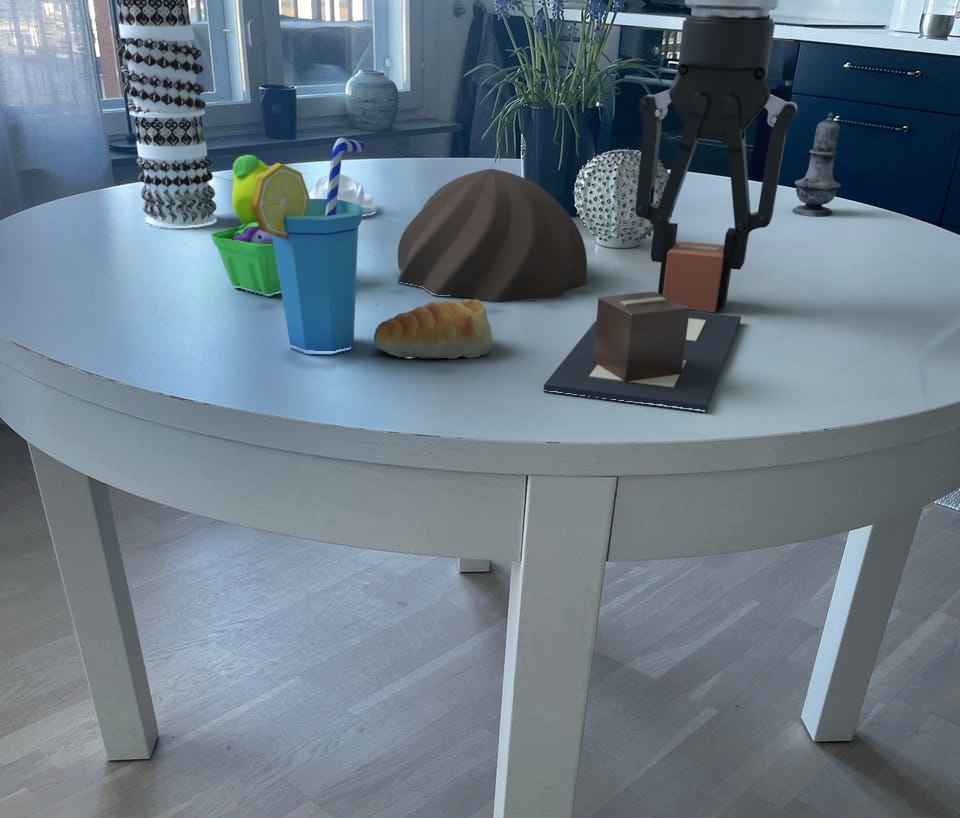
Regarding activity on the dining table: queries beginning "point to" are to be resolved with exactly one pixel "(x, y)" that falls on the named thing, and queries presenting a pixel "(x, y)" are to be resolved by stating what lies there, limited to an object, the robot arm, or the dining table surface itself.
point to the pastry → (437, 331)
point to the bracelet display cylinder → (166, 111)
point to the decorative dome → (492, 241)
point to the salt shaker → (819, 172)
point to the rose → (345, 193)
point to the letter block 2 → (694, 275)
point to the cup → (312, 253)
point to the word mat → (686, 390)
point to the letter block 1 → (640, 335)
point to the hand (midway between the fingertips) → (692, 300)
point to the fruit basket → (248, 235)
